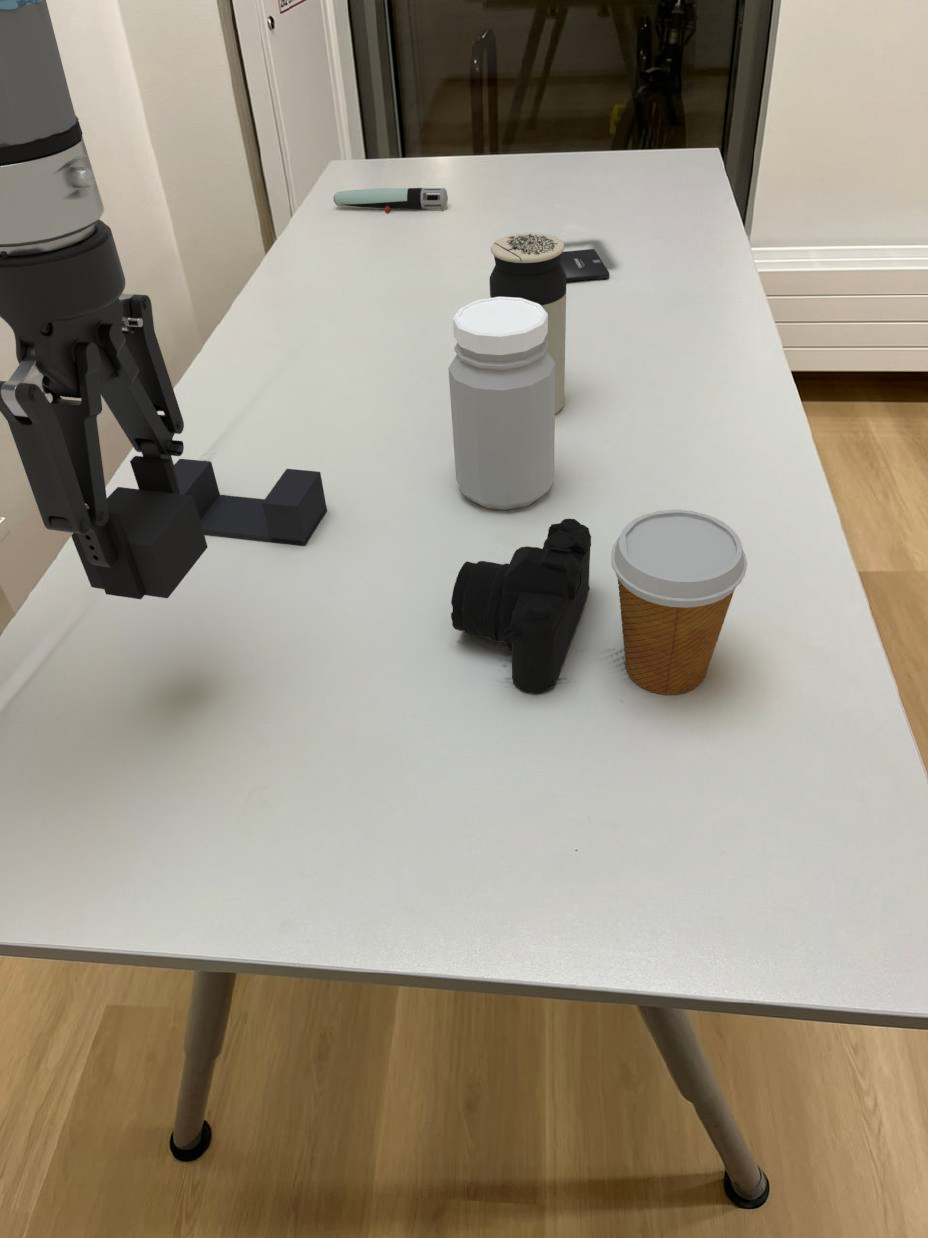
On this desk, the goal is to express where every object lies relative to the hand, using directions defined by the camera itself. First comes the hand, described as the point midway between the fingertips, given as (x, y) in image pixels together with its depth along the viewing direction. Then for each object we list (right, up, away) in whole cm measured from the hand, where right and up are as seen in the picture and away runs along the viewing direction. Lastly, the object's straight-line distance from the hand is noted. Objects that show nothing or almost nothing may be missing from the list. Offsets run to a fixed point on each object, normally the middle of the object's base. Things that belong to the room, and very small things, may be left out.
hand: (150, 563), depth 67 cm
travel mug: (+30, +20, +41) cm, 54 cm away
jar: (+26, +9, +28) cm, 40 cm away
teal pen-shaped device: (+10, +66, +95) cm, 116 cm away
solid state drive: (+39, +47, +71) cm, 93 cm away
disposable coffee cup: (+38, -8, +8) cm, 40 cm away
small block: (0, 0, 0) cm, 0 cm away
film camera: (+27, -5, +12) cm, 30 cm away
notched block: (+1, +6, +26) cm, 27 cm away
